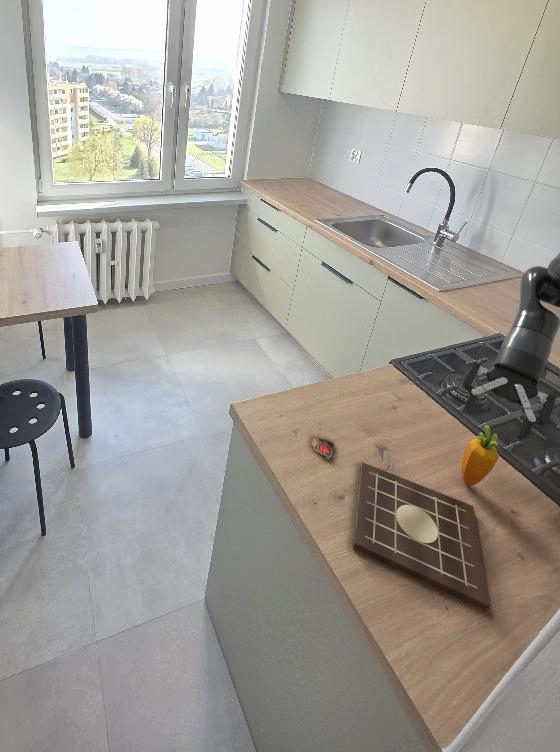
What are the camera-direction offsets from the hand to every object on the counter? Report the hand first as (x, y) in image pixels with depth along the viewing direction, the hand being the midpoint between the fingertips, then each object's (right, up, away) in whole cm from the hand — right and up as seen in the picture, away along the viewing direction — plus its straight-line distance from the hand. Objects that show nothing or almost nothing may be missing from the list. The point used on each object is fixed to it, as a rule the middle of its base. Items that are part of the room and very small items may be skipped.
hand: (493, 425), depth 84 cm
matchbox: (-31, -9, +9) cm, 34 cm away
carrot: (-4, -13, +2) cm, 14 cm away
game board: (-20, -16, -7) cm, 26 cm away
